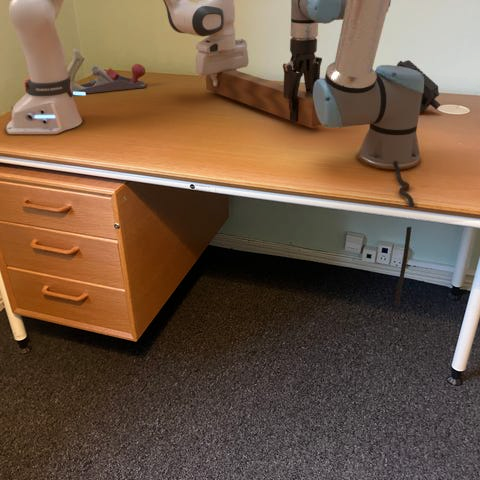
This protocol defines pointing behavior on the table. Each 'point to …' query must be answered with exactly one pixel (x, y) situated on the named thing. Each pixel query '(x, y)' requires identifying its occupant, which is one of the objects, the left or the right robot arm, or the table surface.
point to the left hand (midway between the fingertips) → (223, 84)
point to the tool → (429, 88)
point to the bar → (263, 95)
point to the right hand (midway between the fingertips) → (300, 118)
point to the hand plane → (104, 77)
